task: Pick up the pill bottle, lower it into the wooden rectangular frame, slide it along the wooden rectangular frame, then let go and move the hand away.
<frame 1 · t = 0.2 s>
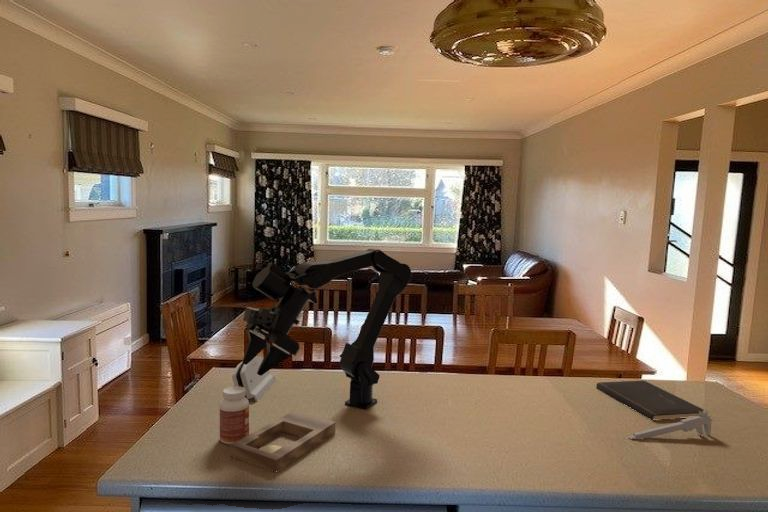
hand: (251, 369, 112), 14 cm above the kitchen counter, tool tilted 35°, fingers open, 9 cm apart
hardcover book: (647, 404, 136), on the kitchen counter
pill bottle: (234, 439, 108), on the kitchen counter
caliper: (669, 438, 114), on the kitchen counter
wooden rectangular frame: (279, 447, 104), on the kitchen counter
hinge: (253, 391, 137), on the kitchen counter
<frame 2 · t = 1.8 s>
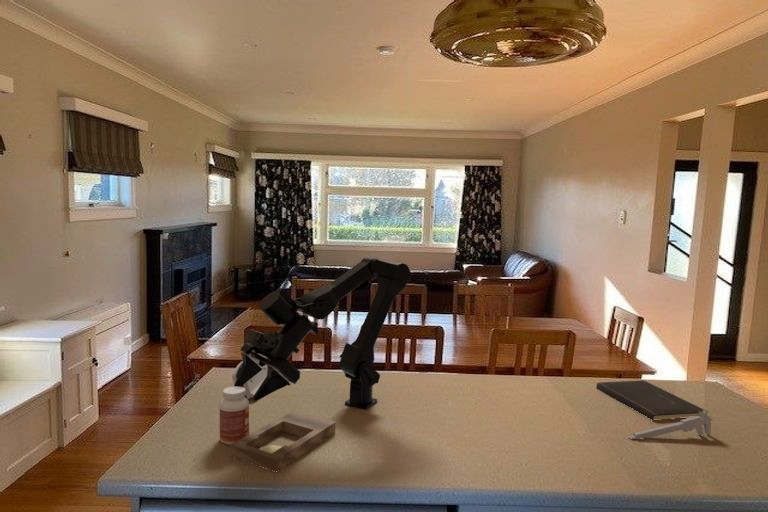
hand: (244, 393, 108), 10 cm above the kitchen counter, tool tilted 45°, fingers open, 9 cm apart
nothing on the kitchen counter moved.
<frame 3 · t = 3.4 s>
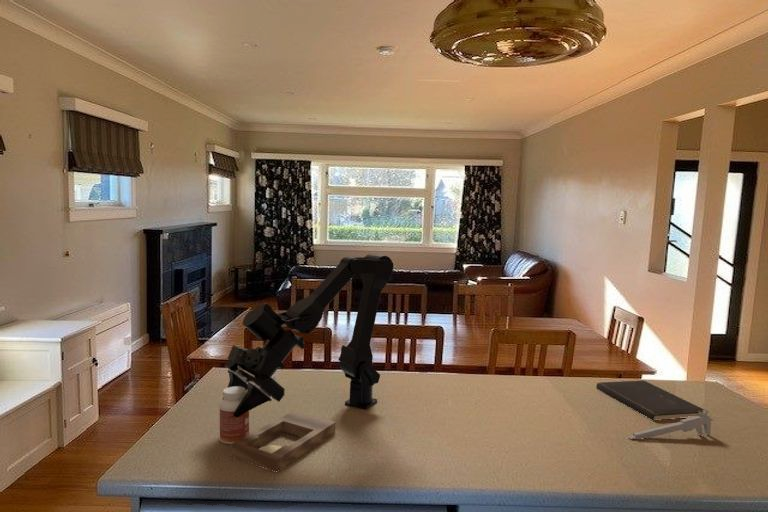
hand: (228, 411, 106), 7 cm above the kitchen counter, tool tilted 45°, fingers closed on pill bottle, 6 cm apart
pill bottle: (234, 439, 108), on the kitchen counter, touching gripper
everything else where it was.
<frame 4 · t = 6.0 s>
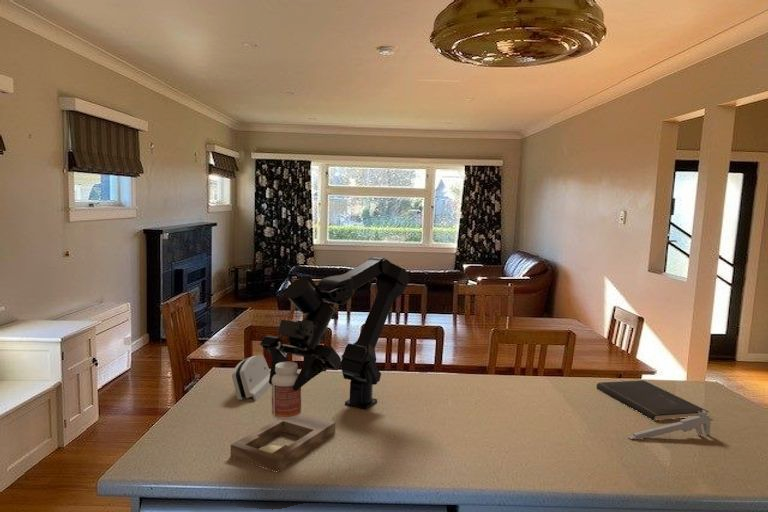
hand: (282, 387, 104), 13 cm above the kitchen counter, tool tilted 45°, fingers closed on pill bottle, 6 cm apart
pill bottle: (286, 415, 106), point 6 cm above the kitchen counter, touching gripper
everything else where it was.
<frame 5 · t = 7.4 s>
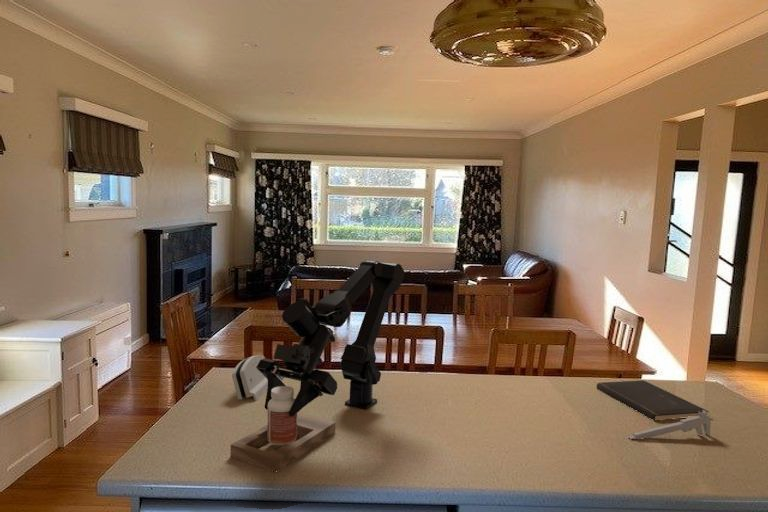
hand: (278, 412, 103), 8 cm above the kitchen counter, tool tilted 45°, fingers closed on pill bottle, 6 cm apart
pill bottle: (282, 440, 105), point 1 cm above the kitchen counter, touching gripper
when the fingers open (8 cm above the kitchen counter, at t = 8.6 s): pill bottle stays where it is, resting on wooden rectangular frame.
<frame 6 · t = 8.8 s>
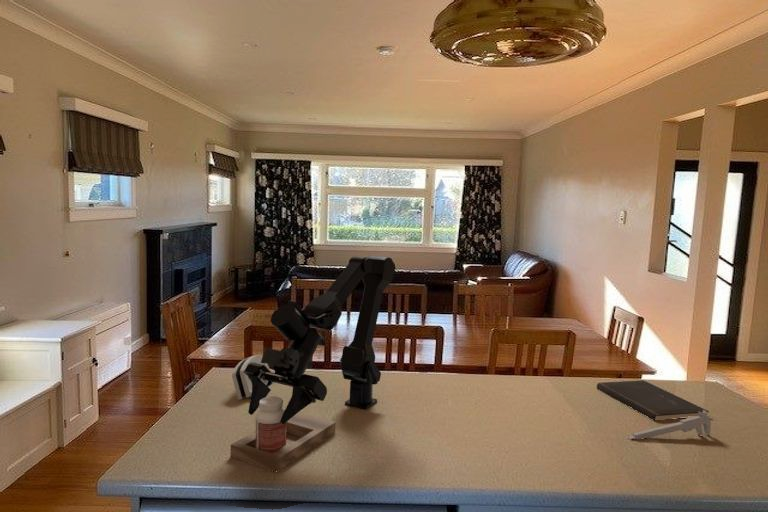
hand: (265, 418, 100), 8 cm above the kitchen counter, tool tilted 45°, fingers open, 8 cm apart
pill bottle: (271, 453, 102), resting on wooden rectangular frame
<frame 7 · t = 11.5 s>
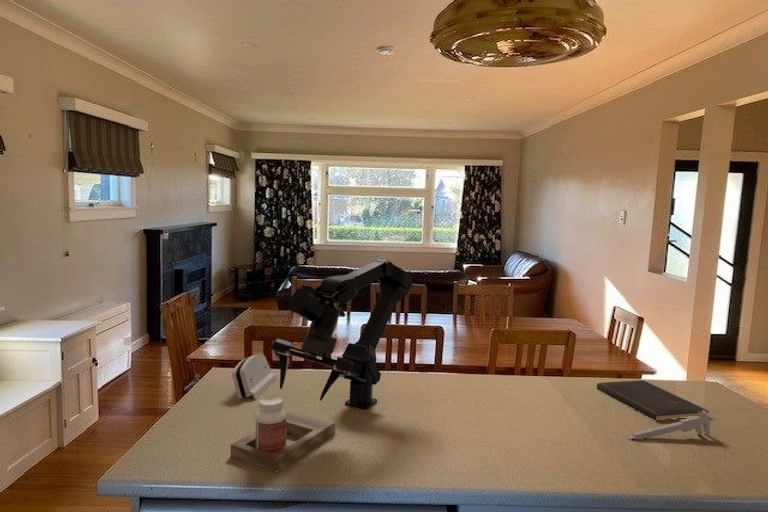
hand: (300, 394, 110), 9 cm above the kitchen counter, tool tilted 30°, fingers open, 9 cm apart
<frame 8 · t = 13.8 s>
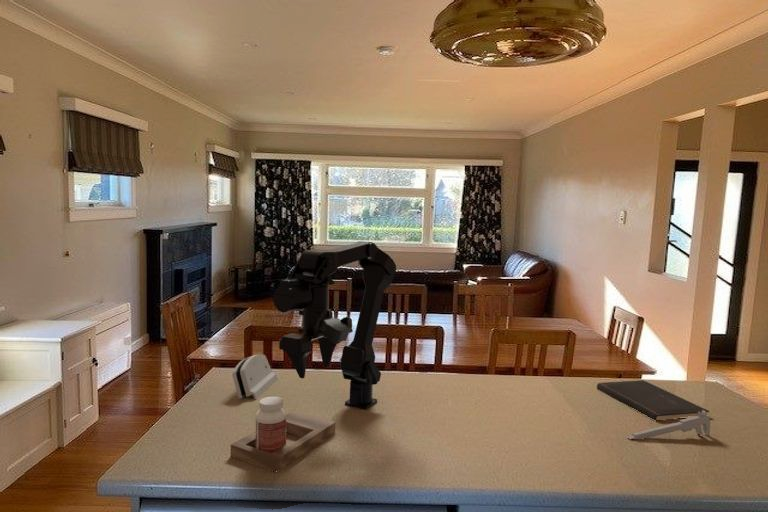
hand: (314, 372, 114), 13 cm above the kitchen counter, tool pointing down, fingers open, 9 cm apart
at the end: pill bottle 0.2 cm from the target spot on the wooden rectangular frame, point 0.0 cm above the wooden rectangular frame's base; pill bottle tilted 0°; the gripper is holding nothing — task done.
